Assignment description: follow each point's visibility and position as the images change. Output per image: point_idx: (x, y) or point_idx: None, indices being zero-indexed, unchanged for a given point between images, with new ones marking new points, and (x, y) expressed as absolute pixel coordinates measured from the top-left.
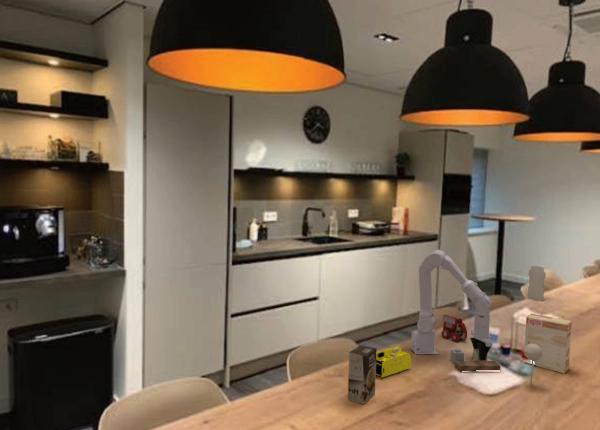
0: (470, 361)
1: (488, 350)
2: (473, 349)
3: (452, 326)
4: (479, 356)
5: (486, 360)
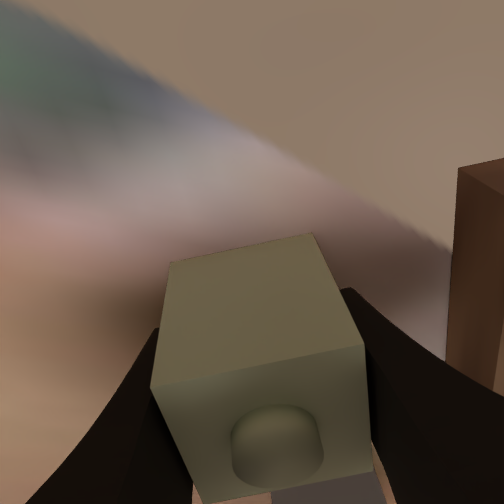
0: None
1: (498, 402)
2: (205, 492)
3: None
4: None
5: (321, 258)
